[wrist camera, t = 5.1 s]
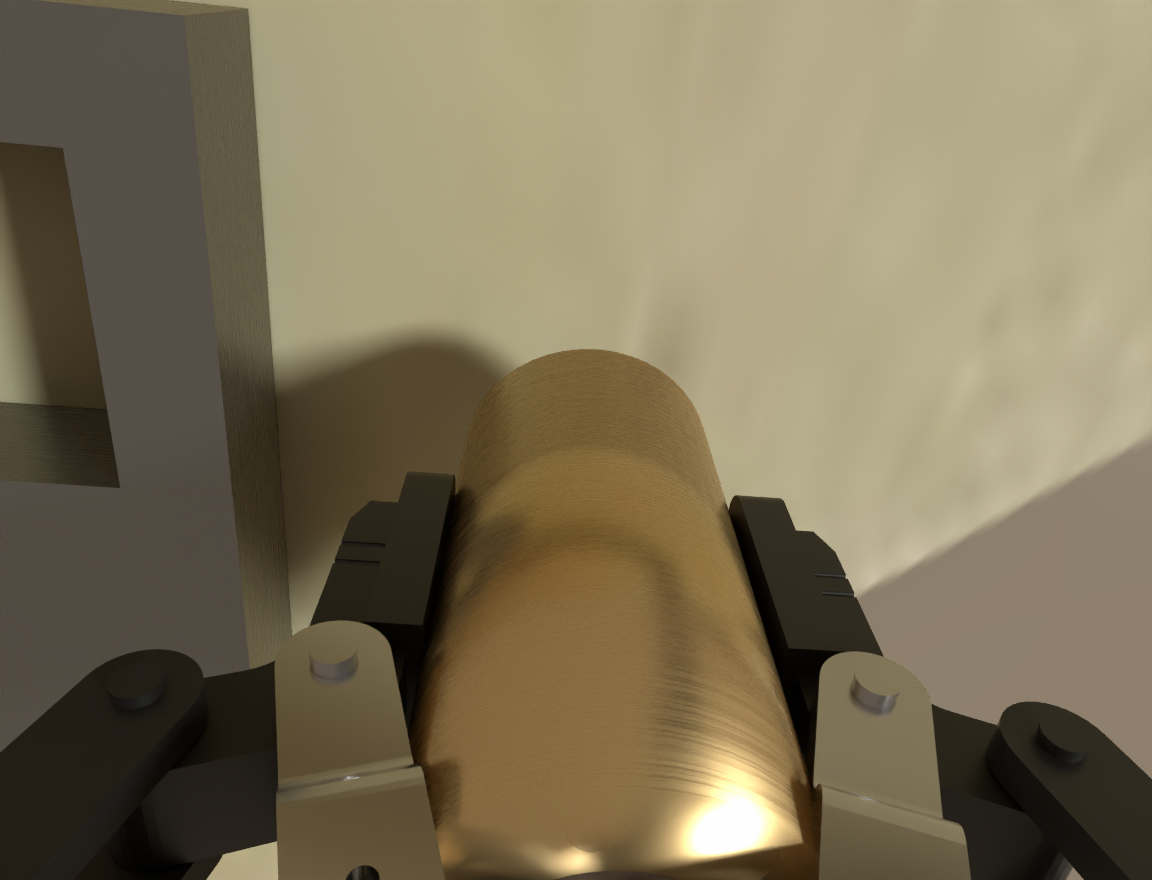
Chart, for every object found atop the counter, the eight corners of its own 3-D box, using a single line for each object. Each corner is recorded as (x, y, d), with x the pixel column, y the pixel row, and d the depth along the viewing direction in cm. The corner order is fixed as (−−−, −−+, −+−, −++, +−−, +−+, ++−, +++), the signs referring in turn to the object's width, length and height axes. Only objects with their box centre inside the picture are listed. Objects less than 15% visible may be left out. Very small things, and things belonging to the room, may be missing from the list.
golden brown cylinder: (468, 339, 15) (360, 777, 7) (726, 359, 15) (910, 806, 7) (460, 551, 17) (371, 1075, 9) (686, 566, 17) (795, 1089, 9)
